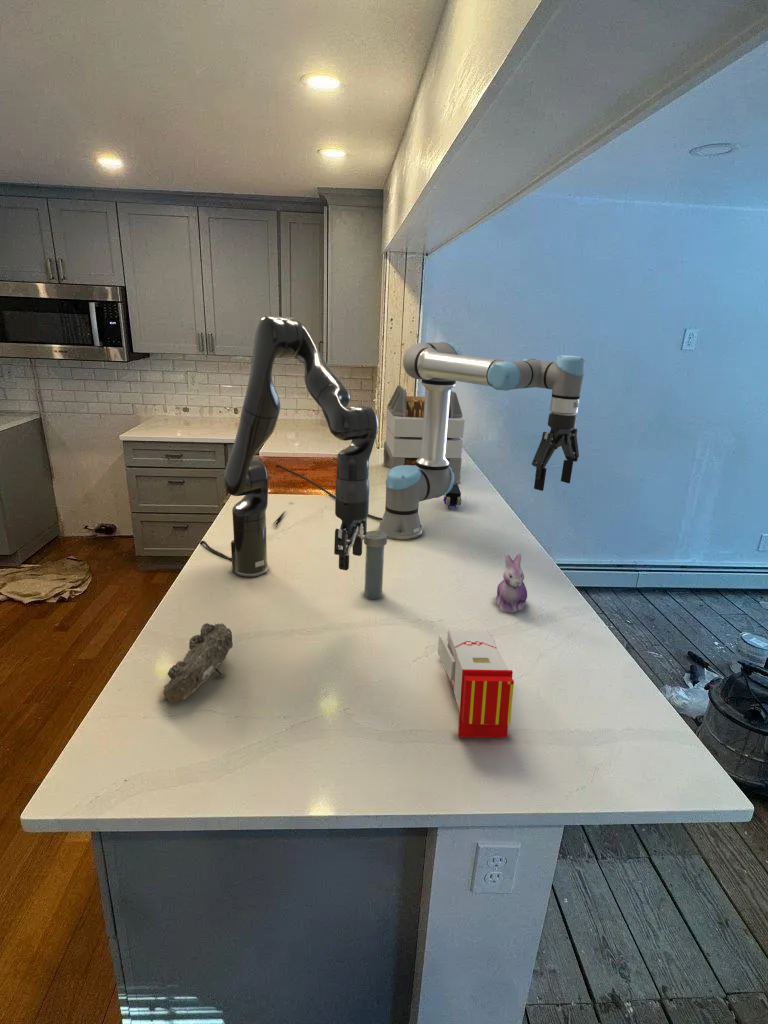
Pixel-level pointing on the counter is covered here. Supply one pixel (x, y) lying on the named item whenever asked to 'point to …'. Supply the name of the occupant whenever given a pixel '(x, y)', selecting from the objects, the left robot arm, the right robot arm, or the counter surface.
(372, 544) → the lid
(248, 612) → the counter surface
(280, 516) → the feather
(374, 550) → the jar
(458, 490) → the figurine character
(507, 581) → the figurine
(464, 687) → the toy
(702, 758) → the counter surface
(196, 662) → the fossil
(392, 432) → the grey slatted crate
